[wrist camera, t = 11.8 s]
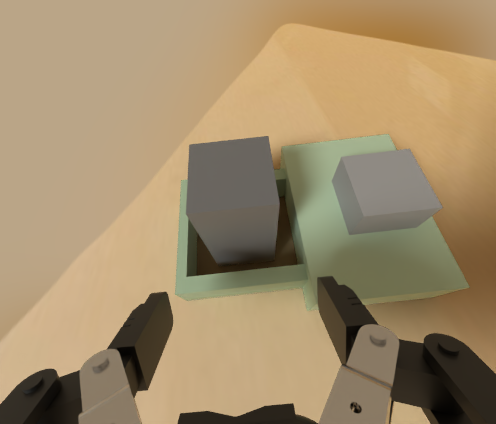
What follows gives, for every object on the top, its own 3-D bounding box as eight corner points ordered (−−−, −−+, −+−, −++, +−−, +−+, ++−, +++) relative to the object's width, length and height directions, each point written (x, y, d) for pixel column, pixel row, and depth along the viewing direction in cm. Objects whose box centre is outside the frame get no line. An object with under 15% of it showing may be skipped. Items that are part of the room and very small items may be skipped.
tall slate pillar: (267, 212, 24) (268, 136, 15) (274, 260, 21) (279, 204, 12) (217, 217, 24) (189, 144, 15) (218, 266, 21) (185, 213, 13)
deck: (371, 162, 26) (404, 106, 20) (432, 297, 19) (511, 276, 13) (190, 183, 26) (167, 134, 20) (186, 324, 19) (148, 316, 13)
